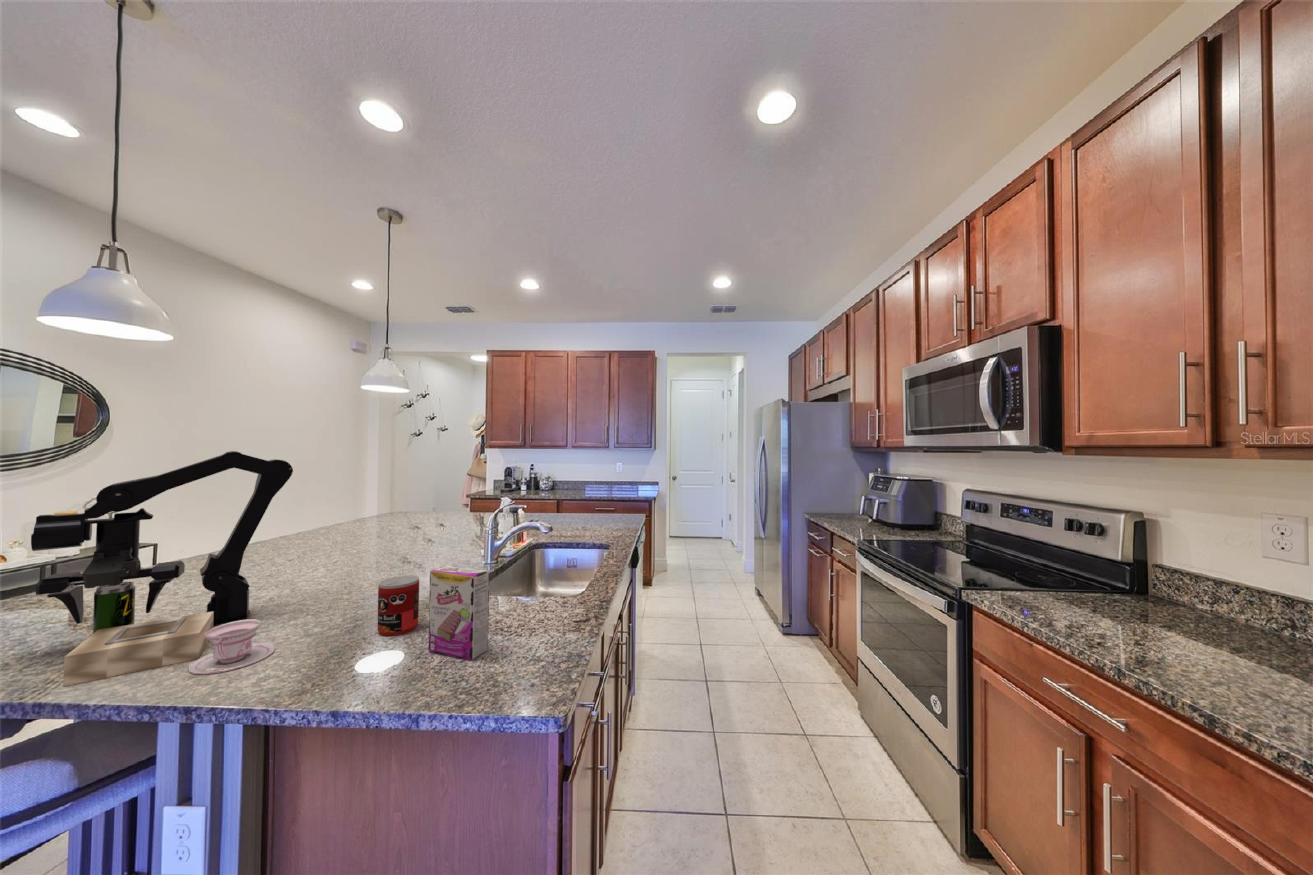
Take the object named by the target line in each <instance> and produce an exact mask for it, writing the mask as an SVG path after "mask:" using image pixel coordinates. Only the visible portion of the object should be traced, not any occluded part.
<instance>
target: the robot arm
mask: <svg viewBox="0 0 1313 875" xmlns="http://www.w3.org/2000/svg"><path fill="white" fill-rule="evenodd" d="M231 469H237V470H242V471H244V472H245V471H246V472H250V473H253V474H257V477H256V480H255V485H254V489H253V493H252V495H251V496H250V498H249V500H248V501H247V504H246V505H245V507H244V509H243V511H242V513H241V514H240V516H239V518H238V520H237V522H236V524H235V526H234V528H233V530H232V532H231V533H230V535H229V537H228V539H226V542H225V544H224V545H223V547H222V548H221V550H220V551H218V553H217V554H213V553H208V555H207V559H206V562H205V564H203V566H202V567H201V568H200V569H199V574H200V576H201V583H202V586H203V587H204V588H205V589H206V590H207V591H209V592H212V593H213V592H214V593H213V594H212V595H211V597H210V601H208V603H207V605H206V612H212V611H214V619H213V626H216V625H217V626H218V625H222V624H226V623H230V622H234V621H239V620H246V619H249V618H248V617H249V615H250V614H251V610H250V585H249V582H248V580H247V579H246V577H245V576H242V575H241V574H240V571H241V567H242V563H243V557H244V553H245V551H246V549H247V547H248V545H249V543H250V542H251V539H252V537H253V536H254V533H255V532H256V530H257V529H258V527H259V525H260V523H261V521H262V519H263V518H264V515H265V513H266V511H267V509H268V508H269V505H270V503H271V502H272V500H273V498H274V497H275V496H276V495H277V493H278V492H279V491H280V490H281V489H282V488H283V487H284V486H285V485H286V483H287V482H288V481H289V480H290V478H291V477H292V475H293V473H294V468H293V466H292V465H291V464H290V463H289V462H288V461H286V460H282V459H270V460H267V459H263V458H258V457H255V456H252V455H247V454H243V453H242V452H239V451H235V450H234V451H233V450H231V451H226V452H224V453H223V454H220V455H217V456H213V457H210V458H207V459H205V460H202V461H199V462H198V461H197V462H195V463H193V464H189V465H185V466H183V467H180V468H179V467H178V468H176V469H173V470H170V471H167V472H163V473H161V474H159V475H158V474H157V475H151V476H147V477H140V478H137V479H131V480H126V481H121V482H116V483H115V482H114V483H112V484H109V485H108V486H105V487H103V488H102V489H100V491H98V493H97V495H96V497H95V498H96V499H95V501H96V503H94V504H93V505H92V506H90V507H87V508H86V509H84V512H82V513H67V514H39V515H38V516H36V517H35V524H34V527H33V533H31V535H30V546H31V551H32V552H36V551H48V550H57V549H67V548H79V547H82V546H83V544H84V543H85V541H86V542H87V541H88V542H89V541H92V535H93V524H96V531H95V532H96V535H95V536H96V537H95V551H93V555H92V557H93V558H92V559H91V561H90V563H89V564H88V565H87V566H86V568H85V569H84V571H83V572H82V573H81V571H72V572H61V573H53V574H50V575H47V577H44V578H42V579H39V581H38V582H37V583H36V584H35V595H36V596H40V595H46V597H47V598H49V599H50V598H55V599H58V600H59V601H61V603H63V604H64V606H65V607H66V609H67V610H68V612H69V613H70V615H71V616H72V618H73V620H74V621H75V623H76V624H77V625H80V624H82V623H83V619H84V588H85V589H96V588H97V587H99V586H106V585H109V586H113V585H118V584H120V583H122V582H124V581H125V580H132V579H133V580H134V579H135V580H136V579H140V578H151V579H152V580H151V581H150V582H149V583H148V588H149V589H148V594H147V600H146V605H145V613H146V614H150V613H151V611H152V610H153V607H154V605H155V603H156V601H157V599H158V597H159V595H160V594H161V591H162V590H163V588H164V587H165V585H167V584H168V583H171V582H172V581H173V580H175V579H176V578H180V577H181V576H182V575H183V574H184V573H185V570H186V569H185V567H186V566H185V565H186V564H185V562H183V561H182V560H175V561H174V560H173V561H165V562H164V561H163V562H158V563H156V565H154V566H152V567H149V568H148V567H147V568H142V566H141V564H142V563H141V560H140V558H139V554H140V552H139V551H140V547H141V544H140V530H141V529H140V526H141V524H140V523H141V521H146V520H147V521H148V520H152V519H153V518H154V514H152V513H149V512H148V511H146V509H145V508H143V507H141V508H140V509H139V510H137V511H133V512H124V511H127V510H130V509H132V508H135V507H136V506H139V505H140V504H143V503H145V502H146V501H149V500H150V499H153V498H154V497H156V496H158V495H160V494H162V493H165V492H167V491H170V490H171V489H175V488H178V487H180V486H183V485H186V484H189V483H192V482H196V481H198V480H201V479H204V478H207V477H210V476H213V475H215V474H219V473H222V472H225V471H227V470H231ZM111 512H115V513H114V514H113V517H110V518H100V517H103V516H105V515H107V514H109V513H111Z"/></svg>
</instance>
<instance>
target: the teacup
mask: <svg viewBox="0 0 1313 875" xmlns="http://www.w3.org/2000/svg"><path fill="white" fill-rule="evenodd" d="M261 624H262V621H261V620H259V619H257V618H256V619H255V618H253V619H252V618H251V619H250V618H247V619H245V620H239V621H234V622H229V623H223V624H218V625H217V626H213V628H212V629H210V630H208V631H207V632H206V633H205V638H206V639H207V640H209V642H210V645H211V646H212V647H213V652H211V653H209V654H206V655H204V656H200V657H199V659H195V660H193V662H191V664H190V665H188V668H187V669H189V670H188V673H190V674H192V675H193V674H194V675H213V674H218V673H225V672H229V671H233V670H238V669H241V668H244V667H247V666H250V665H253V664H255V663H258V662H260V661H262V660H264V659H266V658H268V657H269V656H271V655H272V654H273V653H274V652H275V650H276V646H275V644H271V643H269V642H268V643H267V642H266V643H265V642H257V643H256V642H255V643H253V638H254V637H255V636H256V631H258V630H259V628H261V626H262V625H261ZM261 650H267V651H262V652H261ZM246 654H249V655H250V656H248V657H247V658H245V656H246ZM243 658H245V659H243ZM218 661H219V662H220V663H221V664H217V663H218ZM236 661H237V662H236ZM200 664H201V665H200ZM212 664H213V665H212ZM216 664H217V665H216ZM197 668H230V669H224V670H218V671H216V670H213V671H211V670H209V671H206V670H205V671H202V670H197Z"/></svg>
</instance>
